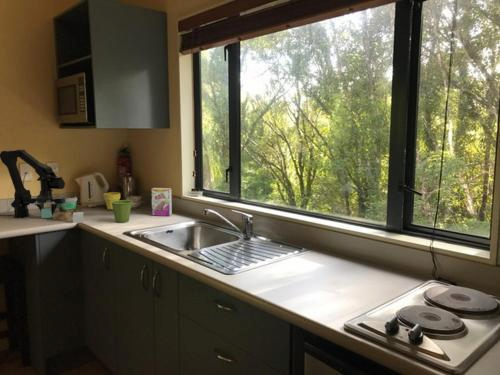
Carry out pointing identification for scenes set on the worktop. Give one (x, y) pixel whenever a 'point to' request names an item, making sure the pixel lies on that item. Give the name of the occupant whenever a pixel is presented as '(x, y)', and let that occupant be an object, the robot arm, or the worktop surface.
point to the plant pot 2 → (121, 210)
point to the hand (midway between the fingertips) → (47, 215)
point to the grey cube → (78, 217)
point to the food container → (68, 205)
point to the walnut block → (62, 216)
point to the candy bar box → (161, 201)
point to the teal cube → (46, 213)
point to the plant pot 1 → (111, 199)
